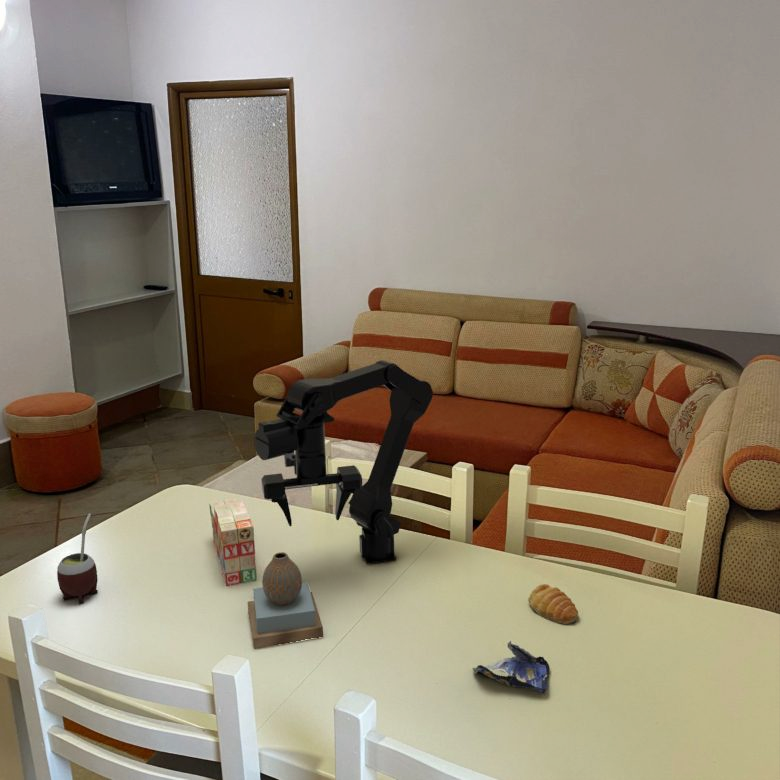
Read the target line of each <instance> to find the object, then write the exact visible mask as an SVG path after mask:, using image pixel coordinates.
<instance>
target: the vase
mask: <svg viewBox="0 0 780 780" xmlns="http://www.w3.org/2000/svg"><path fill="white" fill-rule="evenodd" d="M261 579H262V582H261V583H262V587H263V590H264V593H265V595H266V597H267V599H268V600H269V601H270V602H272V603H273V604H275V605H280V606H283V605H288V604H291V603H292V602H293V601H295V600H296V599H297V597H298V596H299V594H300V591H301V587H302V582H303V578H302V574H301V570H300V569H299V566H298V565H297V564H296V563H295V562H294V561H293V560H292V558H290V557H289V555H288V554H287V553H286V552H283V551H281V552H276V553H274V554H273V557H272V558H271V560H270V561H269V563H268V565H267V566H266V568H265V569H264V572H263V574H262V578H261Z"/></svg>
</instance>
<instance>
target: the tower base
mask: <svg viewBox="0 0 780 780" xmlns="http://www.w3.org/2000/svg"><path fill="white" fill-rule="evenodd" d="M310 593H311V597H312V601H313V605H314V609H315V624H316V626H310V627H303V628H296V629H289V630H282V631H275V632H268V633H261V634H258V633H257V624H256V615H255V606H254V600H249V601H247V612H248V619H249V626H250V633H251V632H252V633H251V638H252V645H253V650H257V649H263V648H264V649H265V648H268V647H274V646H280V645H279V644H282V645H287V644H286V643H288V644H291V643H290V642H294V643H297V642H296V641H300V642H302V641H301V640H305V639H311V638H317V639H320V638H319V637H323V638H324V626H323V623H322V619H321V616H320V613H319V611H318V607H317V604H316V601H315V597H314V594H313V592H312V591H310ZM311 640H312V639H311ZM256 648H257V649H256Z"/></svg>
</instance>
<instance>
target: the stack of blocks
mask: <svg viewBox="0 0 780 780" xmlns="http://www.w3.org/2000/svg"><path fill="white" fill-rule="evenodd" d="M209 511H210V512H209V513H210V518H211V519H210V520H211V528H212V536H213V542H214V548H215V551H216V555H217V557H218V560H220V561H219V565H220V566H221V567H220V568H221V570H222V572H223V573H222V576H223V582H224V583H225V584H226V585H225V584H224V585H225V587H230V585H231V586H236V585H240V584H246V583H251V582H255V581H256V582H257V581H258V579H257V565H256V548H255V547H256V546H255V532H254V529H255V528H254V524H253V523H252V520H251V517H250V515H249V511H248V509H247V508H246V506H245V504H244V501H239V500H238V497H235V498H228V499H226V498H225V499H223V500H222V499H221V500H216V501H210V502H209Z"/></svg>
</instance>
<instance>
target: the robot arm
mask: <svg viewBox="0 0 780 780" xmlns="http://www.w3.org/2000/svg"><path fill="white" fill-rule="evenodd" d="M383 386H384V387H385V388H386V389H388V390H389V391H390V396H389V407H390V408H389V409H390V417H389V421H388V423H387V427H386V429H385V433H384V435H383V437H382V441H381V443H380V445H379V449H378V452H377V455H376V457H375V459H374V460H375V461H374V463H373V465H372V468H371V472H370V474H369V477H368V480H366V482H365V483H364V484H363V477H362V474H361V472H360V470H359V469H358V467H357V466H356V465H354V464H353V465H345V466H344V465H343V466H338V467H337V468H336V472H335V473H328V474H327V455H326V436H325V434H326V433H325V432H326V431H325V424H328V423H331V422H334V421H335V417H333V416H332V415H330V414H329V413H328V411H330V410H332V409H333V408H334V406H336V404H337V403H338V402H341V400H344V399H348V398H350V397H353V396H355V395H358V394H361V393H365V392H367V391H370V390H373V389H376V388H378V387H383ZM433 397H434V390H433V388H432V385H431V384H430V383H429V382H428V381H426V380H423V379H420V378H417V377H415V376H413V375H411V374H410V373H408V372H406V371H405V370H403V369H402V368H401V367H400V366H399V365H398V364H396V363H393V362H389V361H387V360H384V359H383V360H378V361H376V362H375V363H371V364H370V365H366V366H364V367H360V368H356V369H354V370H351V371H348V372H344V373H342V374H339V375H336V376H332V377H330V378H329V377H328V378H305V379H299V380H298V379H297V380H295V381H294V382H293V383H292V384H290V387H289V389H288V391H287V395H286V398H285V399H284V400H283V403H282V404H281V406H280V407H279V409H278V412H277V414H276V418H278V419H274V420H271V421H262V422H259V423H258V429H257V430H256V431H255V433H254V437H253V444H254V449H255V452H256V454H257V456H258V457H259V458H260V459H261V460H262V461H267V460H271V459H274V458H275V459H276V458H278V457H282V456H284V467H285V468H288V467H289V468H290V467H291V468H292V467H293V472H294V475H295V476H296V477H294V478H284V476H283V474H282V473H273V474H265V475H263V477H262V478H261V481H260V482H261V490H262V494H263V498H264V499H265V500H270V501H271V503H274V504H275V503H277V504H278V506H279V507H280V509H281V511H282V512H283V514H284V516H285V518H286V519H285V520H286V521H287V524H288V526H289V527H292V526H293V525H292V516H291V515H292V514H291V511H290V510H291V509H290V505H289V500H288V497H287V496H288V495H287V493H286V490H293V489H301V488H307V487H308V488H310V487H318V486H326V485H334V484H335V488H336V489H335V490H336V493H335V494H336V495H335V496H336V497H335V511H334V512H335V520H336V521H339V520H340V518H341V516H342V513H343V510H344V508H345V505H346V503H348V505H349V508H348V513H349V514H350V517H351V519H352V520H353V521H355V523H356V525H357V526H358V527H361V534H359V537H358V541H359V554H360V556H361V558H362V559H363V560H364V562H365V564H366V565H372V564H381V563H386V562H394V561H395V562H396V561H397V559H398V558H397V555H396V554H395V535H397V534H398V533H399V532H400V529H401V525H402V523H401V522H400V521H399V520H397V519H396V518H394V517H393V516H392V515H391V513H392V508H393V500H392V499H393V497H392V491H391V490H392V486H393V483H394V479H395V477H396V474H397V472H398V469H399V466H400V464H401V461H402V458H403V455H404V452H405V450H406V447H407V444H408V441H409V438H410V436H411V432H412V429H413V428H414V424H416V422H417V421H418V420H419V419H420V418H421V417H422V416H423V415H425V413H426V412H427V410H428V408H429V406H430V404H431V402H432V400H433ZM295 410H296V411H298V412H300V413H301V414H297V413H296V412H294V411H295ZM351 495H352V496H351ZM350 496H351V498H350ZM349 498H350V499H349Z"/></svg>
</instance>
